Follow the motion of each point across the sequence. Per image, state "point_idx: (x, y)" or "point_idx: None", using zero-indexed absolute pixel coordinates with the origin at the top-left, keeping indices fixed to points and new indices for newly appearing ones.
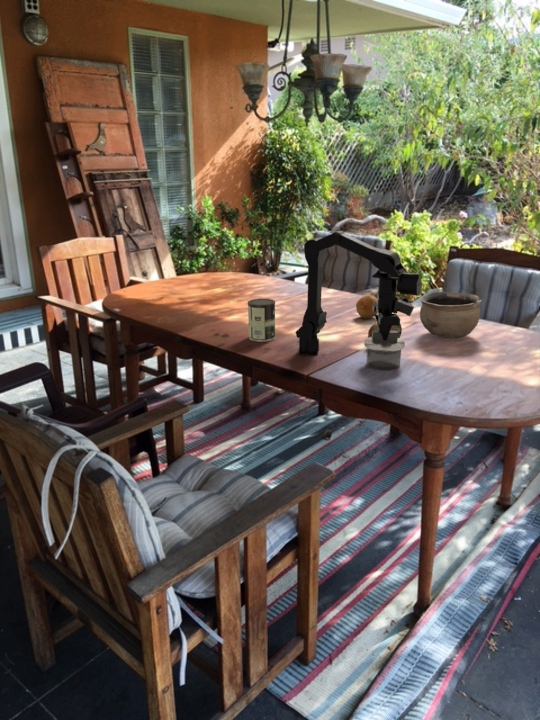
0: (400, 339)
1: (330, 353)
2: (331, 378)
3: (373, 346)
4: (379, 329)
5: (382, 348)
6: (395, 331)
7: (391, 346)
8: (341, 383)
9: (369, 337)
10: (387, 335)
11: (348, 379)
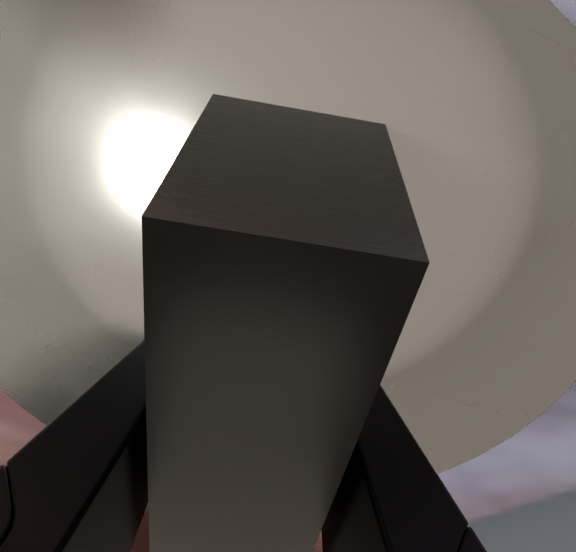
0: None
1: (17, 421)
2: (466, 495)
3: (436, 470)
4: (128, 549)
5: (540, 404)
6: (258, 288)
7: (540, 290)
8: (564, 478)
9: (44, 419)
10: (403, 445)
11: (522, 442)
